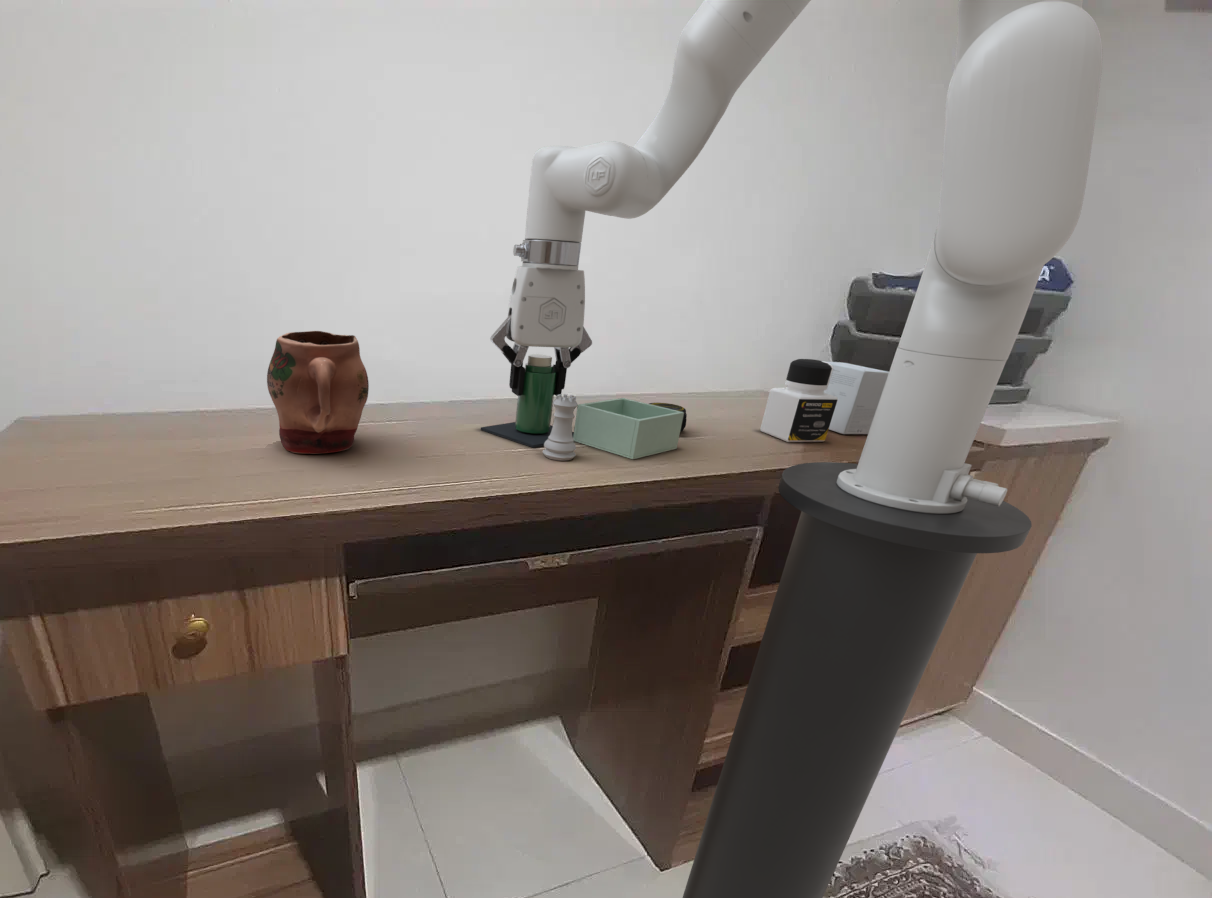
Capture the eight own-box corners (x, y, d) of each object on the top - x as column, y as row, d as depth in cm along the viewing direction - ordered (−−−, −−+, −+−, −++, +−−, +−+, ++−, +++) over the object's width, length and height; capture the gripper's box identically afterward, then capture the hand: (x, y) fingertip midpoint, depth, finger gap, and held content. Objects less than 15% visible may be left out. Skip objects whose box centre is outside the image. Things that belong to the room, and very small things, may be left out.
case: (676, 448, 94) (684, 412, 91) (632, 459, 87) (639, 420, 85) (617, 431, 101) (622, 397, 98) (572, 440, 94) (577, 404, 92)
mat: (584, 437, 96) (584, 435, 96) (533, 447, 89) (533, 445, 89) (531, 421, 103) (531, 419, 103) (480, 429, 97) (480, 427, 97)
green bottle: (556, 431, 96) (566, 358, 91) (532, 435, 93) (541, 360, 88) (531, 423, 100) (539, 352, 95) (507, 427, 96) (514, 354, 92)
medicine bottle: (787, 442, 101) (809, 363, 96) (758, 431, 107) (778, 356, 102) (825, 442, 102) (849, 364, 97) (794, 431, 109) (816, 357, 104)
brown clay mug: (387, 469, 77) (388, 348, 71) (282, 476, 73) (273, 347, 67) (351, 427, 93) (349, 326, 87) (263, 430, 89) (255, 324, 83)
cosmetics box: (874, 435, 110) (895, 371, 105) (843, 435, 108) (864, 370, 103) (827, 420, 119) (846, 361, 114) (798, 420, 117) (816, 360, 112)
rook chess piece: (535, 453, 87) (542, 393, 84) (561, 450, 89) (569, 391, 86) (555, 462, 84) (563, 400, 80) (582, 459, 86) (591, 398, 82)
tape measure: (638, 431, 102) (642, 407, 100) (641, 422, 108) (645, 399, 106) (683, 437, 100) (688, 413, 98) (683, 427, 106) (688, 404, 104)
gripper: (497, 253, 81) (486, 399, 89) (622, 261, 85) (600, 400, 93) (482, 252, 87) (473, 388, 95) (598, 259, 91) (580, 389, 99)
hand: (536, 392), depth 94 cm, fingers closed on green bottle, 5 cm apart
